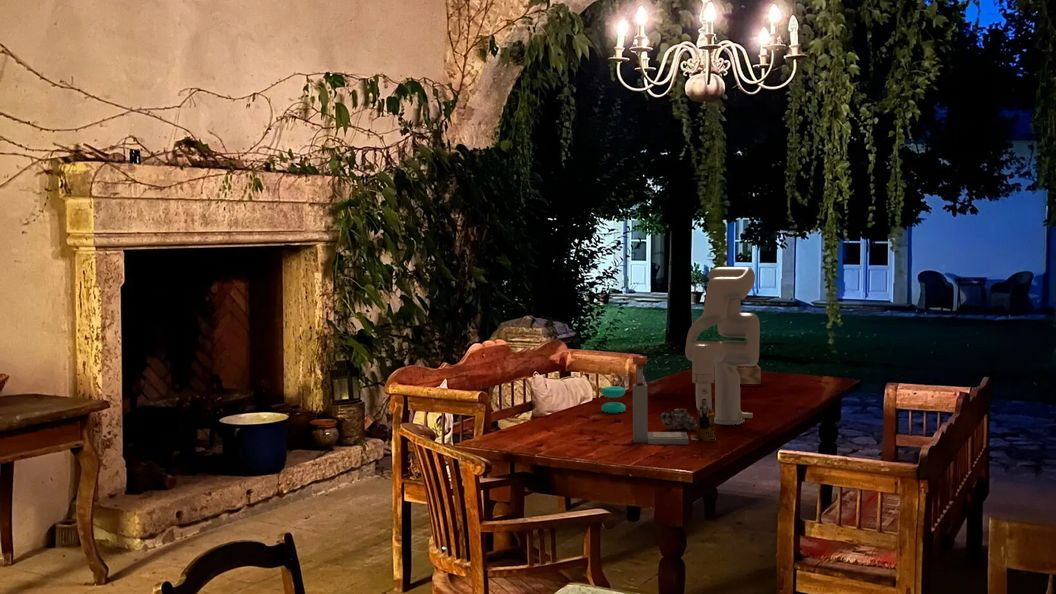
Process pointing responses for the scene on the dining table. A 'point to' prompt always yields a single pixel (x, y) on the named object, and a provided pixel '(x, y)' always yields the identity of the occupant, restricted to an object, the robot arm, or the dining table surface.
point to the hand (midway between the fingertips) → (702, 426)
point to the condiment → (705, 433)
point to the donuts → (613, 406)
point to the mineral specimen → (678, 419)
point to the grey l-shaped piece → (642, 422)
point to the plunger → (639, 368)
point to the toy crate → (748, 375)
